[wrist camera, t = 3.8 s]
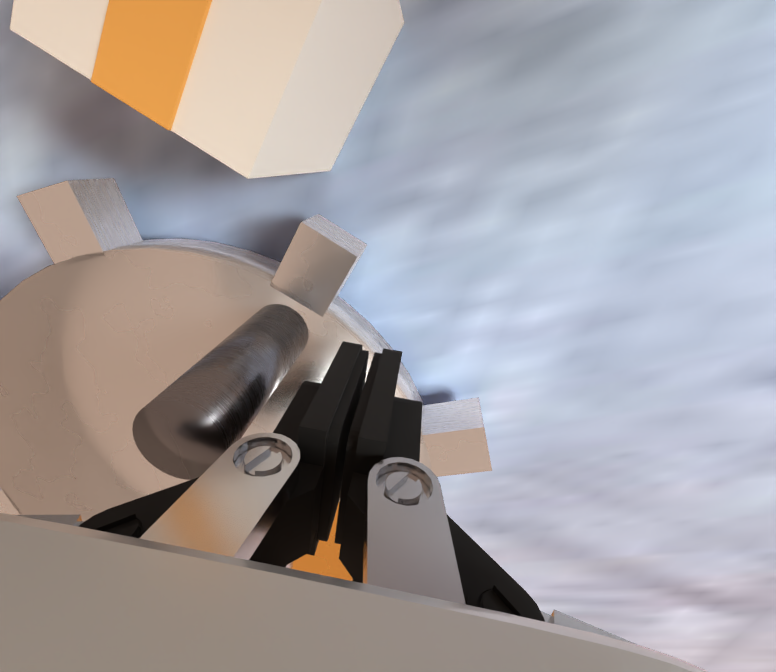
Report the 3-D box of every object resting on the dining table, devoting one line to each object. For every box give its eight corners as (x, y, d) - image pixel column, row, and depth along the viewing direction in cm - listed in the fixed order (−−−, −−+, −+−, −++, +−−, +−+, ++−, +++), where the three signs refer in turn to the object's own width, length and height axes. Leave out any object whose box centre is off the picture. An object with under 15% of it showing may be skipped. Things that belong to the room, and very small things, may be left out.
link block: (261, -80, 12) (56, -362, 6) (404, 23, 13) (370, -124, 6) (205, 89, 14) (4, 27, 7) (330, 170, 15) (245, 178, 8)
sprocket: (10, 19, 13) (-558, -171, 5) (613, 399, 16) (766, 606, 8) (-56, 490, 22) (-294, 650, 15) (327, 672, 25) (283, 879, 18)
